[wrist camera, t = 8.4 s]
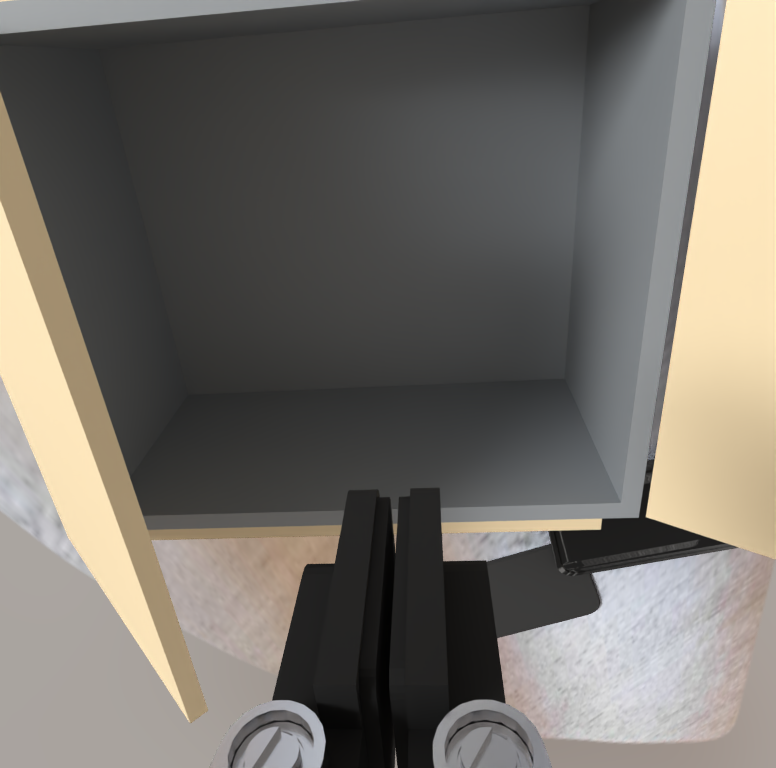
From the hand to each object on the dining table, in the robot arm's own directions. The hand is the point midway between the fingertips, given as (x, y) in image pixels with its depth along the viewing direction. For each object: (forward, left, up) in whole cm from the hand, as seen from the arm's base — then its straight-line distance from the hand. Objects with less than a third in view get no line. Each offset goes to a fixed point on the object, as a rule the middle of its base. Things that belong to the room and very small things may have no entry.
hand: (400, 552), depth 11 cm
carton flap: (0, -11, -7) cm, 13 cm away
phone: (+27, +4, -25) cm, 37 cm away
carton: (0, -3, -24) cm, 24 cm away
